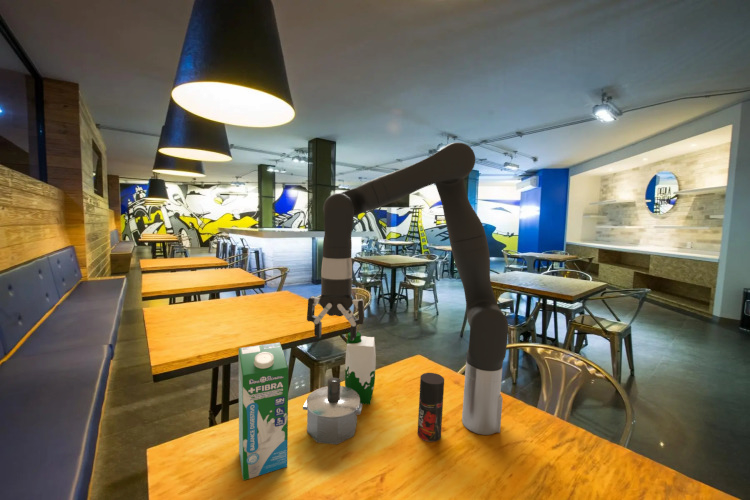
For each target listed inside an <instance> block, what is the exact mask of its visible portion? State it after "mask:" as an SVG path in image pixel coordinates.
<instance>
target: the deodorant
mask: <svg viewBox="0 0 750 500" xmlns="http://www.w3.org/2000/svg"><path fill="white" fill-rule="evenodd" d="M419 380H420V381H419V400H418V401H419V402H418V416H417V435H418V437H419V439H421V440H422V441H425V442H428V443H436V442H438V441H440V439H441V436H442V427H443V426H442V425H443V424H442V423H443V408H444V407H443V406H444V394H445V393H444V391H445V378H444V377H443V376H442V375H440V374H438V373H435V372H425V373H422V374H420V379H419Z"/></svg>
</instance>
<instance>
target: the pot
mask: <svg viewBox="0 0 750 500" xmlns="http://www.w3.org/2000/svg"><path fill="white" fill-rule="evenodd" d="M362 409H363V404H362V403H360V405H359V407H358V409H357V410H356V411H355V412H353V413H352V414H350V415H348V416H345V417H341V418H322V417H319V416H316V415H314V414H312V413H311V412H310V411H309V410H308V408H307V399H306V400H305V402H304V404H303V406H302V410H305V411H307V414H306V415H307V417H306V419H307V421H306V422H307V423H306V432H307V433H308V435H310V437H311V438H312V439H314V441H315V442H316V443H320V444H329V445H339V444H341V443H343V442H345V441H347V440H349V439H351V438H353V437H354V436H355V433H356V428H357V425H358V415H359V416H360V415H361V413H362Z"/></svg>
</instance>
